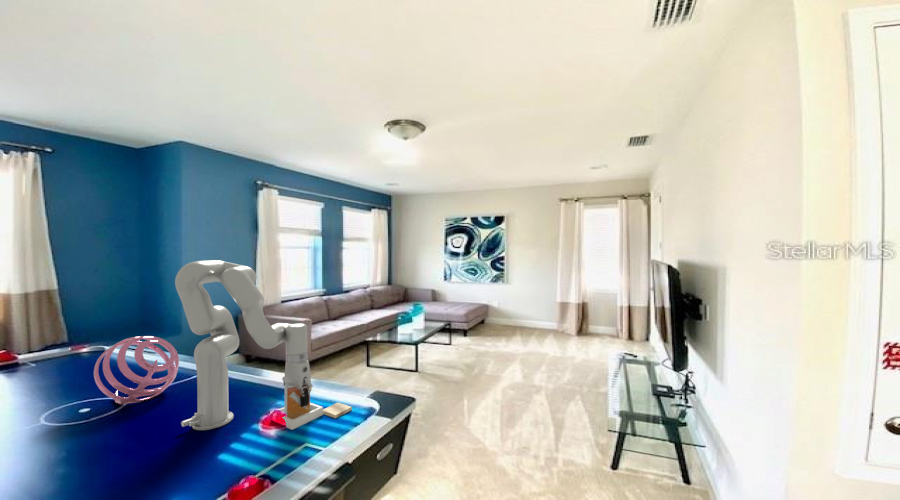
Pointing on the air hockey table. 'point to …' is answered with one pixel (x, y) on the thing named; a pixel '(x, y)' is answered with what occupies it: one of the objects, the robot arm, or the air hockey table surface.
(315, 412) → the tray
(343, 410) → the board
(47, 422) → the air hockey table surface
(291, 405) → the small box
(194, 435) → the air hockey table surface
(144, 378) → the spiral basket
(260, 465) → the air hockey table surface
